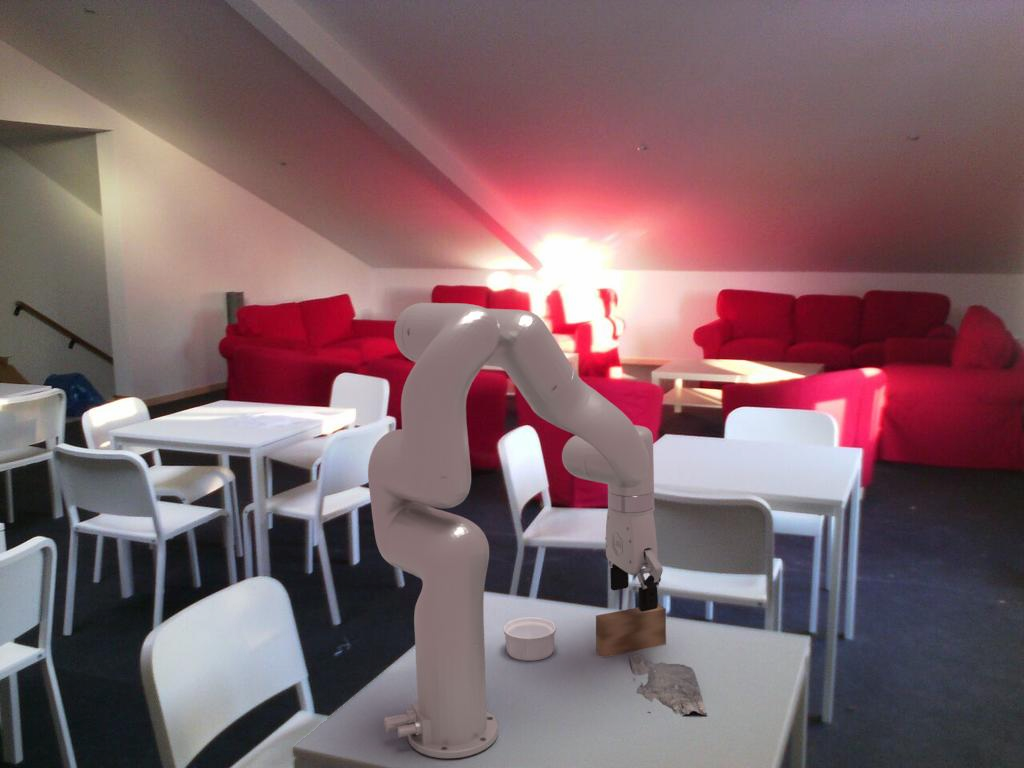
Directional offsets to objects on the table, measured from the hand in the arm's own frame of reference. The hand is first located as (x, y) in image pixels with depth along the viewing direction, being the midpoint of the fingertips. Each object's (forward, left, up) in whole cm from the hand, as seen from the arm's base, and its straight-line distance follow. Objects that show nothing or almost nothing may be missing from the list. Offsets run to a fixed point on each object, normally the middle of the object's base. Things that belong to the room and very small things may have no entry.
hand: (633, 598), depth 148 cm
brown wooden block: (-1, 0, -9) cm, 9 cm away
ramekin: (-17, +6, -9) cm, 20 cm away
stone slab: (-2, -14, -9) cm, 17 cm away
